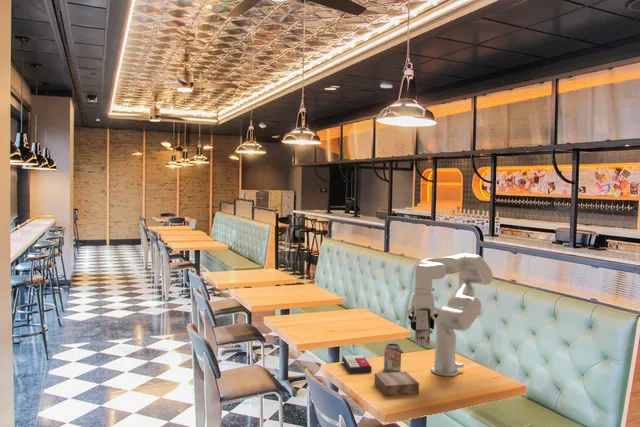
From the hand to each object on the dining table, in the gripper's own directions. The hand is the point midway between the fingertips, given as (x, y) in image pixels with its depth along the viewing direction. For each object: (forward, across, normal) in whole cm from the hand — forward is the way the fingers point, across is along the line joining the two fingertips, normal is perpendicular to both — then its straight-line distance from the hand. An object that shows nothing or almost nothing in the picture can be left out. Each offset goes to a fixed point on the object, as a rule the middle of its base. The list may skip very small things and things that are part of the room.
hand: (422, 328), depth 219 cm
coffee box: (+7, 0, 0) cm, 7 cm away
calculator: (+25, +22, -24) cm, 41 cm away
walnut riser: (+25, +15, +4) cm, 29 cm away
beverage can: (+25, +6, -18) cm, 31 cm away
